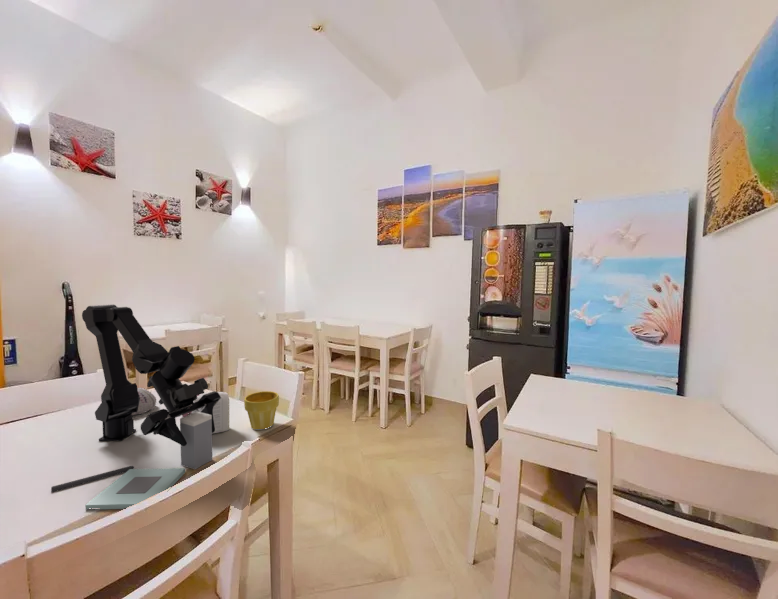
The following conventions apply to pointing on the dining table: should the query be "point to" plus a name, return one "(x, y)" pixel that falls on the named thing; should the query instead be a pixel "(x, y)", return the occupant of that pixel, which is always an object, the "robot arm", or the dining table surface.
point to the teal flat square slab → (135, 487)
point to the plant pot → (261, 408)
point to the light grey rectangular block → (196, 439)
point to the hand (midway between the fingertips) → (200, 438)
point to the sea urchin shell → (145, 401)
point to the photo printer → (219, 412)
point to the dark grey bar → (90, 478)
